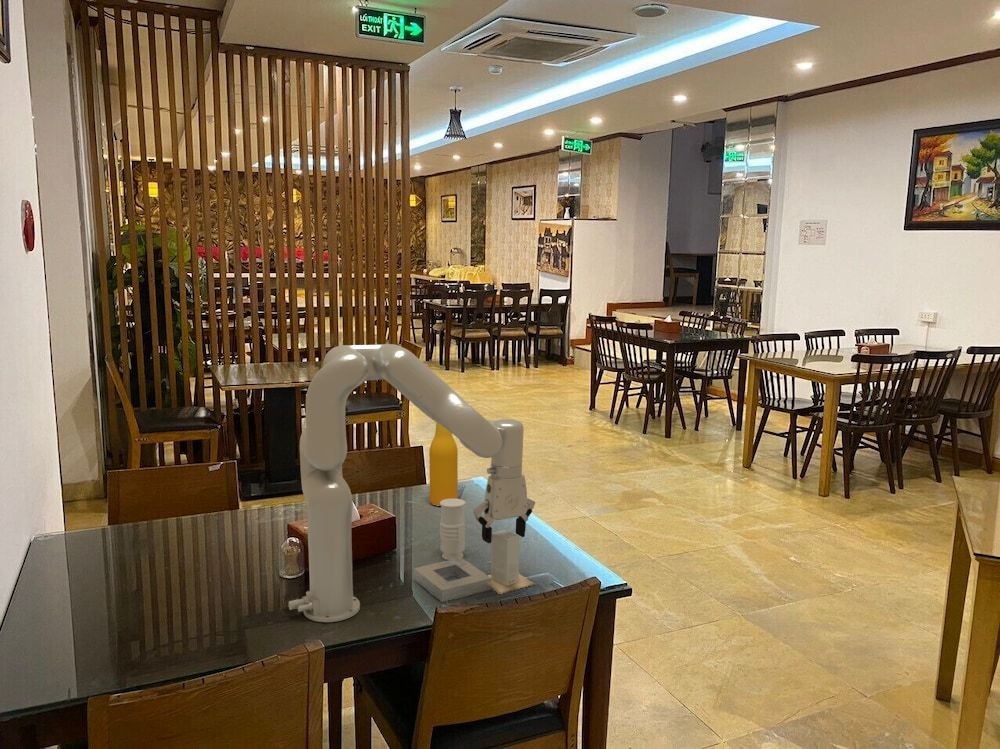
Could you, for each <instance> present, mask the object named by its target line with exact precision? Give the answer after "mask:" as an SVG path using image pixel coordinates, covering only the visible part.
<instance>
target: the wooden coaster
mask: <svg viewBox="0 0 1000 749" xmlns="http://www.w3.org/2000/svg"><path fill="white" fill-rule="evenodd" d="M488 576H489V577H491V574H488ZM533 585H534V586H535V583H534V582H533V581H531V580H530V579H528V577H527V578H526V577H525V576H523V575H522V574H520V573H519V582H517V583H514V584H511V585H509V586H506V585H503V584H501V583H499V582H497V581H495V580H492V579H491V590H492V589H493V590H492V591H494V592H495V591H496V592H497V594H498V595H499V594H501V595H504V594H503V593H505V594H507V593H506V592H508V593H510V592H509V591H512V590H516V589H520V588H523V587H524V588H523V589H526V588H525V587H527V588H529V587H528V586H531V587H534V586H533ZM520 590H521V589H520ZM516 591H517V590H516ZM496 592H495V593H496ZM512 592H513V591H512Z"/></svg>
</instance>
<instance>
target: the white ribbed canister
mask: <svg viewBox="0 0 1000 749" xmlns="http://www.w3.org/2000/svg"><path fill="white" fill-rule="evenodd" d="M440 505H441V507H440V521H439V537H440V547H439V550H440V551H441V552H442V554H441V558H442V559H444V560H446V561H447V560H452V559H456V558H463V559H464V556H465V555H464V551H465V550H466V542H465V538H466V520H465V506H466V501H465V500H464V499H461V498H458V499H445V500H442V501H441V502H440Z"/></svg>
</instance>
